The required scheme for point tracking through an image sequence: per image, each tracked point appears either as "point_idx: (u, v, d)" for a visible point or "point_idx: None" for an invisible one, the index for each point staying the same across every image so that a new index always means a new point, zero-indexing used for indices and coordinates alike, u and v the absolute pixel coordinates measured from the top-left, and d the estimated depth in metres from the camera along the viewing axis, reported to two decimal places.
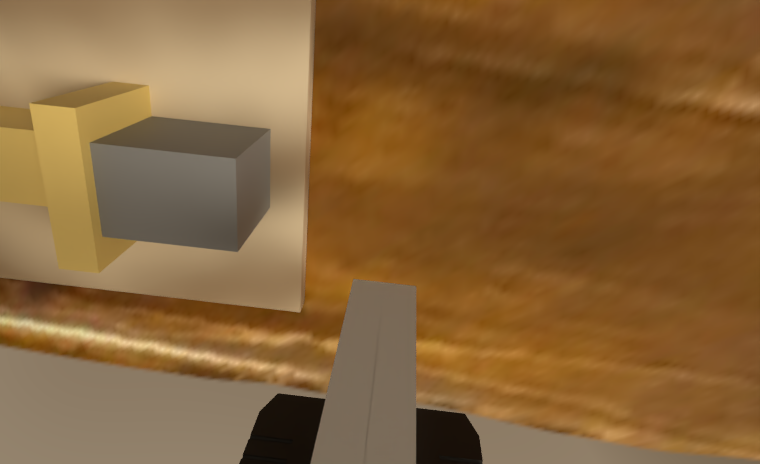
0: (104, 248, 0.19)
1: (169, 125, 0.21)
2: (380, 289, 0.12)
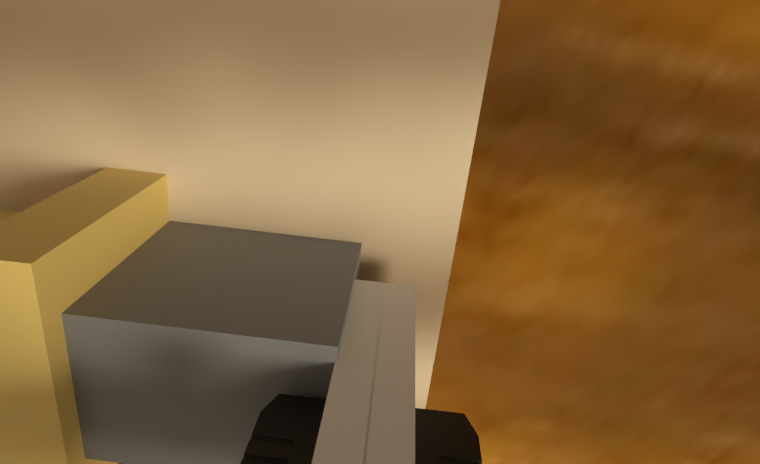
0: None
1: (201, 244, 0.12)
2: (381, 289, 0.12)
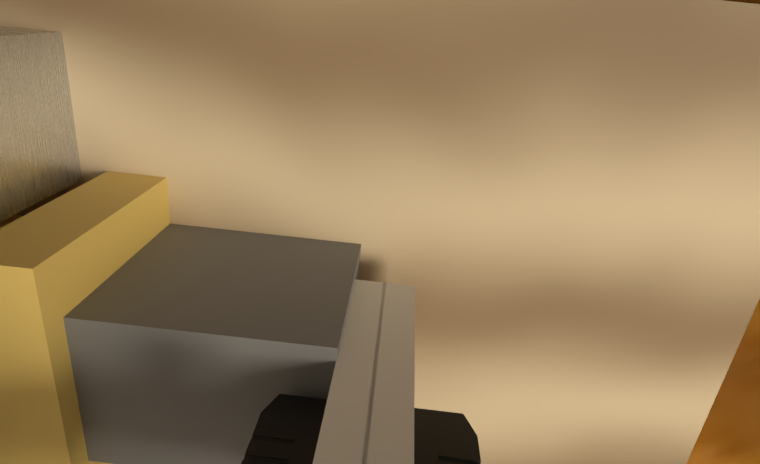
0: None
1: (201, 247, 0.12)
2: (381, 289, 0.12)
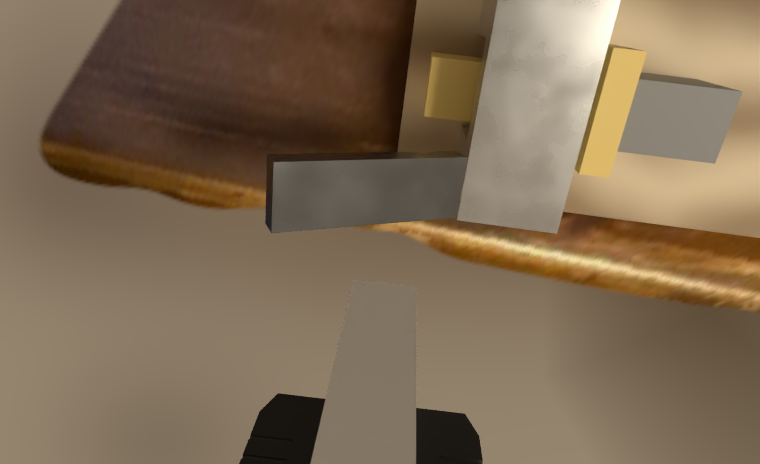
0: None
1: None
2: (380, 289, 0.12)
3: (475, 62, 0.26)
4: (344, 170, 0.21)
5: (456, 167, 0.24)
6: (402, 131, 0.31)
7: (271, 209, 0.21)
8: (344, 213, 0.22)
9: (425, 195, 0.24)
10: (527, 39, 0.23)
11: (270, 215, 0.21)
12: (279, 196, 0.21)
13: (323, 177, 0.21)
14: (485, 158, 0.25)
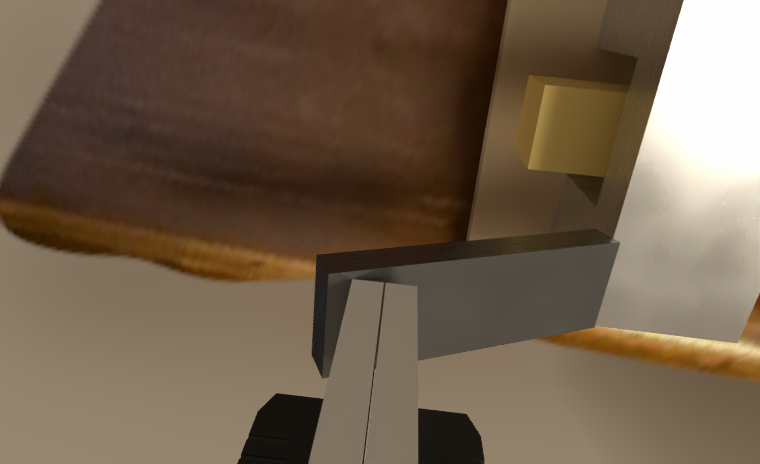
0: None
1: None
2: (379, 289, 0.12)
3: (608, 91, 0.18)
4: (439, 276, 0.13)
5: (603, 258, 0.15)
6: (482, 182, 0.23)
7: (322, 343, 0.13)
8: (435, 338, 0.14)
9: (555, 302, 0.15)
10: (726, 60, 0.14)
11: (320, 351, 0.13)
12: (336, 324, 0.13)
13: None
14: (639, 239, 0.16)
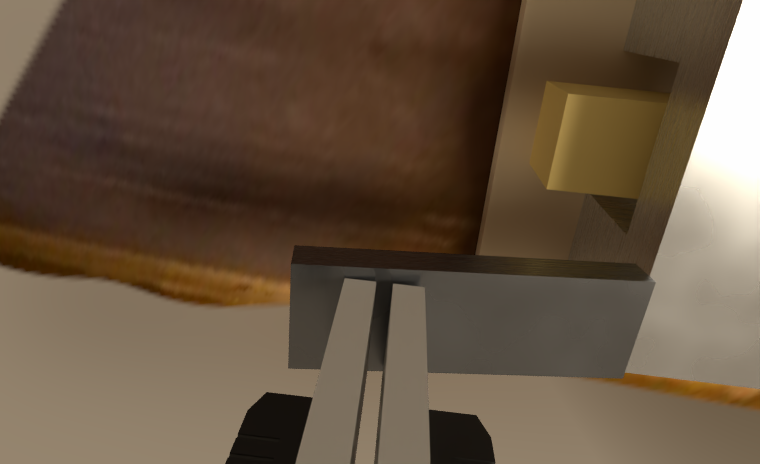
0: None
1: None
2: (371, 288, 0.12)
3: (641, 101, 0.16)
4: None
5: (631, 297, 0.13)
6: (493, 201, 0.20)
7: (289, 333, 0.13)
8: None
9: (565, 338, 0.14)
10: None
11: None
12: (301, 316, 0.13)
13: (377, 294, 0.13)
14: (680, 275, 0.14)
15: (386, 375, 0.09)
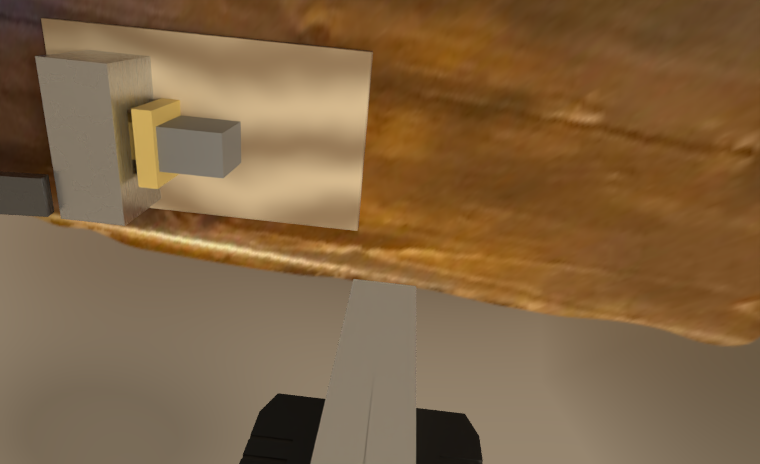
0: (160, 177, 0.40)
1: (190, 119, 0.42)
2: (380, 289, 0.12)
3: None
4: None
5: (34, 184, 0.38)
6: None
7: None
8: None
9: (17, 199, 0.39)
10: (64, 106, 0.37)
11: None
12: None
13: None
14: (64, 179, 0.39)
15: (374, 374, 0.09)
